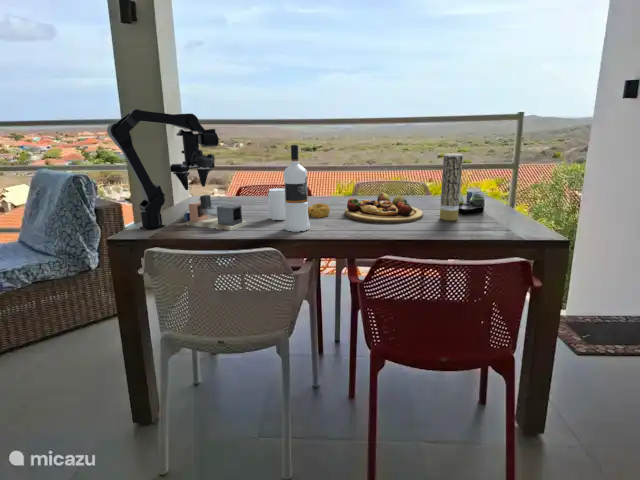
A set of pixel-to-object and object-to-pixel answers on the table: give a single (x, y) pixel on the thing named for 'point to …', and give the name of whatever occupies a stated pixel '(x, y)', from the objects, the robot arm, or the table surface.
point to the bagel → (318, 210)
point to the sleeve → (229, 214)
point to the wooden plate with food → (382, 210)
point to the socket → (195, 212)
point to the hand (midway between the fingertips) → (195, 188)
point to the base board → (215, 224)
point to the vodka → (296, 195)
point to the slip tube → (206, 207)
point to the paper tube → (451, 186)
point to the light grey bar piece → (187, 215)
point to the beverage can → (276, 203)
